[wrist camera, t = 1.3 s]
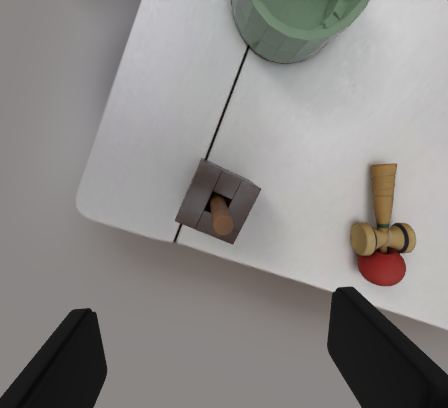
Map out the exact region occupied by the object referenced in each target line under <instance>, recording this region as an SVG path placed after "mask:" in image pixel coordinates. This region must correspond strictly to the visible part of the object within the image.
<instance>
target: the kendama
mask: <svg viewBox="0 0 448 408" xmlns="http://www.w3.org/2000/svg"><path fill="white" fill-rule="evenodd" d="M371 169H372V176H373V177H372V180H373V195H374V209H375V216H376V223H377V229H378V230H376V229H374V228H372V227H371V226H370V225H369V224H367V223H357V224H355V225H354V226H353V228H352V231H351V242H352V246H353V248H354V250H355V252H356V253H357V254H358V255H359V257H358V268H359V271H360V273H361V274H362V275H363V277H364V278H365V279H366V280H368V281H369V282H371V283H373V284H376V285H379V286H392V285H395V284H397V283H398V282H400V281H401V280H402V279H403V277H404V275H405V272H406V265H405V262H404V259H403V258H402V256H401V255H400V253H409V252H411V251H412V250H413V249H414V248H415V245H416V235H415V232H414V230H413V229H412V227H411V226H409V225H408V224H406V223H395V224H393V225H392V226H391V227H390V228H388V227H389V223H390V218H391V213H392V206H393V195H394V186H395V175H396V169H397V164H382V165H372V166H371Z"/></svg>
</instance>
